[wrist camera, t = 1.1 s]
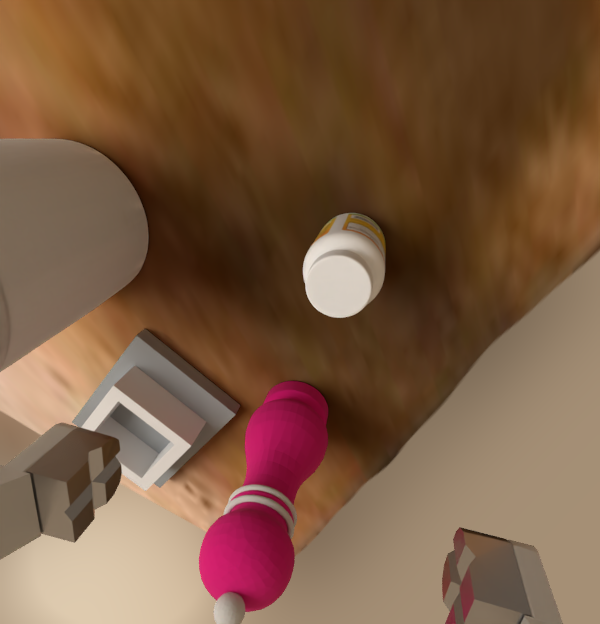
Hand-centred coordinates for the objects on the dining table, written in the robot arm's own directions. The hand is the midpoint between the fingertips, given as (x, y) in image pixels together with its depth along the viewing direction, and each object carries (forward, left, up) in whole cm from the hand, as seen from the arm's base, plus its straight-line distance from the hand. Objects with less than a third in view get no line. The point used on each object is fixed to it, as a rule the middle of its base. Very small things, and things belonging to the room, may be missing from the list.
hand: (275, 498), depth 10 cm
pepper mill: (+7, -16, -26) cm, 32 cm away
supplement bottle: (0, -1, -26) cm, 26 cm away
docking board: (-3, -28, -26) cm, 38 cm away
